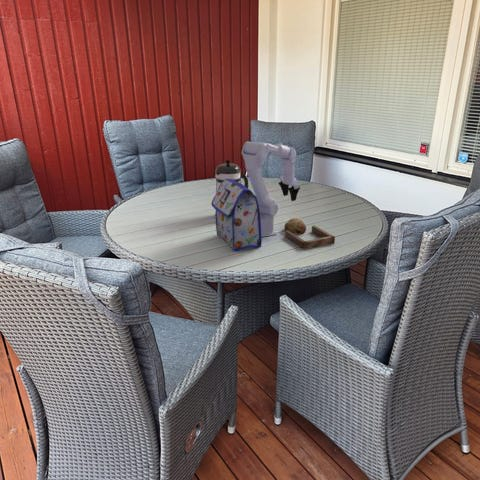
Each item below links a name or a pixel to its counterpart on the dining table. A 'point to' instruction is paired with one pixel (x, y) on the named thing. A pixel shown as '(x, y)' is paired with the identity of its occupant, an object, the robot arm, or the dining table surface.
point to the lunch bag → (237, 215)
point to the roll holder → (324, 240)
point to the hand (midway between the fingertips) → (289, 197)
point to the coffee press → (229, 174)
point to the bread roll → (295, 226)
